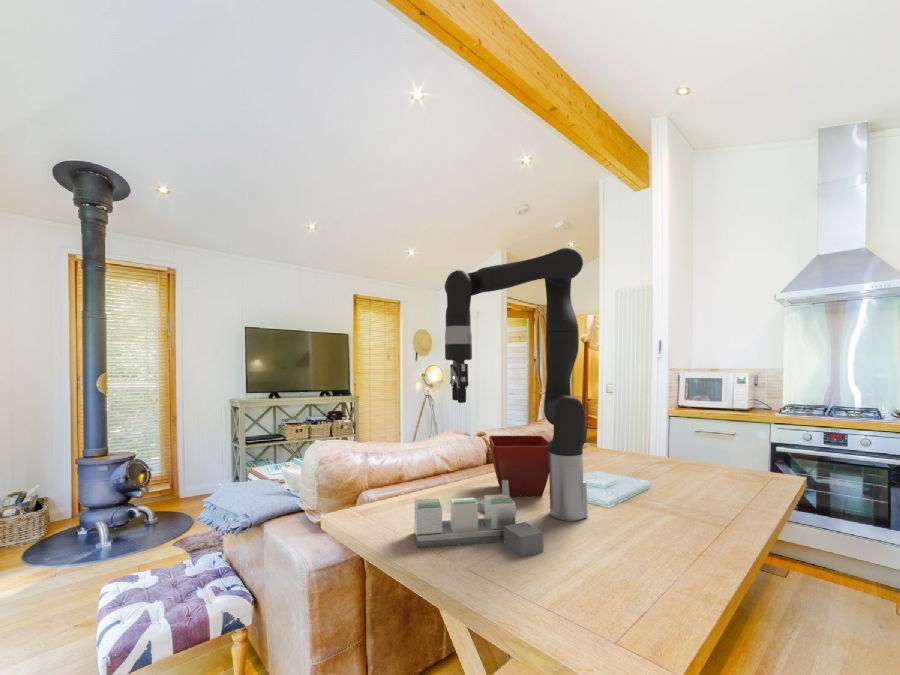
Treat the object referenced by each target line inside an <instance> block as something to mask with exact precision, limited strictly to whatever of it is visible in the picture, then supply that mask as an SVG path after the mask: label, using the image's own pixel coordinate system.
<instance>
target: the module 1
mask: <svg viewBox="0 0 900 675" xmlns="http://www.w3.org/2000/svg"><path fill="white" fill-rule="evenodd" d="M475 499H476V498H475V497H466V498H465V497H463V498H461V497H460V498H451V499H450V520H451V529H452V532H453V533H464V532H477V531H478V518H479V510H478V503H477V501H476V500H475Z"/></svg>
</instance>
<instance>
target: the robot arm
mask: <svg viewBox="0 0 900 675" xmlns="http://www.w3.org/2000/svg"><path fill="white" fill-rule="evenodd" d="M583 267H584V259H583V257H582V255H581V253H580V252H579V251H577V250H576V249H575V248H571V247H562V248H559V249H557V250H554V251H552V252H549V253H547V254H544V255H540V256H537V257H533V258H528V259H525V260H524V259H523V260H518V261H514V262H508V263H503V264H502V263H501V264H497V265H496V264H495V265H491V266H485V267H482V268H479V269H478V270H476V271H472V272H466V271H464V270H460V269H458V270H453V271H452V272H451V273H450V274H448V276H447V277H446V280H445V283H444V292H445V293H446V302H447V304H446V309H445V310H446V311H445V330H444V332H445V333H444V359H445V360H446V361H452V363H450V365H449V367H450V374H449V376H450V377H449V378H450V380H449V381H450V382H449V384H450V387H451V391H452V392H451V396H452V398H451V399H452V400H453V401H457V402H458V403H459V404H465V403H466V402H467V388H468V387H469V364H468V363H466V362H465V361H471V360H472V359H473V344H472V343H473V342H472V340H473V339H472V337H473V336H472V335H473V334H472V327H471V320H472V319H471V318H472V317H471V302H472V301H471V300H472V296H476V295H479V294H482V293H490V292H495V291H501V290H505V289H506V290H507V289H509V288H514V287H516V286H519V285H523V284H526V283H529V282H534V281H538V280H539V281H540V280H543V279H544V286H545V294H546V309H545V310H546V311H545V312H546V313H545V353H546V354H545V357H546V358H545V359H546V360H545V362H546V363H545V365H546V368H545V370H546V378H545V379H546V382H545V392H544V402H543V413H544V416H545V419H546V420H547V422H548V423H550V425H552V426H553V438H552V439H551V440H550V441H548V442H549V476H548V479H549V509H550V511H549V512H550V516H551V517H553V518H554V519H557V520H561V521H568V522H571V521H573V522H575V521H580V520H583V519H586V518H588V491H587V488H588V487H587V482H586V481H585V480H584V461H583V460H584V458H583V457H584V456H583V455H584V454H583V448H584V446H585V443H586V412H585V407H584V405H583V403H582V402H581V400H579V399H578V398H577V397H574V396H572V394H571V393H572V392H571V376H572V374H573V373H572V372H573V369H574V366H575V364H576V360H577V358H578V353H579V347H580V346H579V340H580V336H579V323H578V320H577V316H576V313H575V311H574V307H573V305H572V297H571V296H572V295H571V292H572V279H574V278H575V277H576V276H578V275H579V274H580V273H581V271H582V269H583Z"/></svg>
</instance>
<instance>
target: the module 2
mask: <svg viewBox="0 0 900 675" xmlns="http://www.w3.org/2000/svg"><path fill="white" fill-rule="evenodd" d="M503 545H504V547H506V548H507V547H508V549H509V550H510V551H512V552H513V553H514V554H516V555H517V556H518V557H520V558H524V557H527V556H528V557H529V556H533V555H536V554H541V553H544V531H541V530H539V528H536V527H535V526H533V525H531V524H530V523H527V522H525V521H524V522H518V523H515V524H512V525H507V526H504V541H503Z"/></svg>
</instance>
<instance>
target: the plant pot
mask: <svg viewBox="0 0 900 675" xmlns="http://www.w3.org/2000/svg"><path fill="white" fill-rule="evenodd" d="M488 440H489V448H490V453H491V461H492V465H493V467H494V472H495V476H496V479H497V483H498V486H499V489H500V492H501V493H502V480H508V487H509V497H510V498H512V497H520V498H521V497H533V498H535V497H542V496H543V495H544V492H545V489H546V486H547V482H548V479H549V442H550V441H549V440H548V439H547V438H546V437H544V436H543V435H489V436H488Z"/></svg>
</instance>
